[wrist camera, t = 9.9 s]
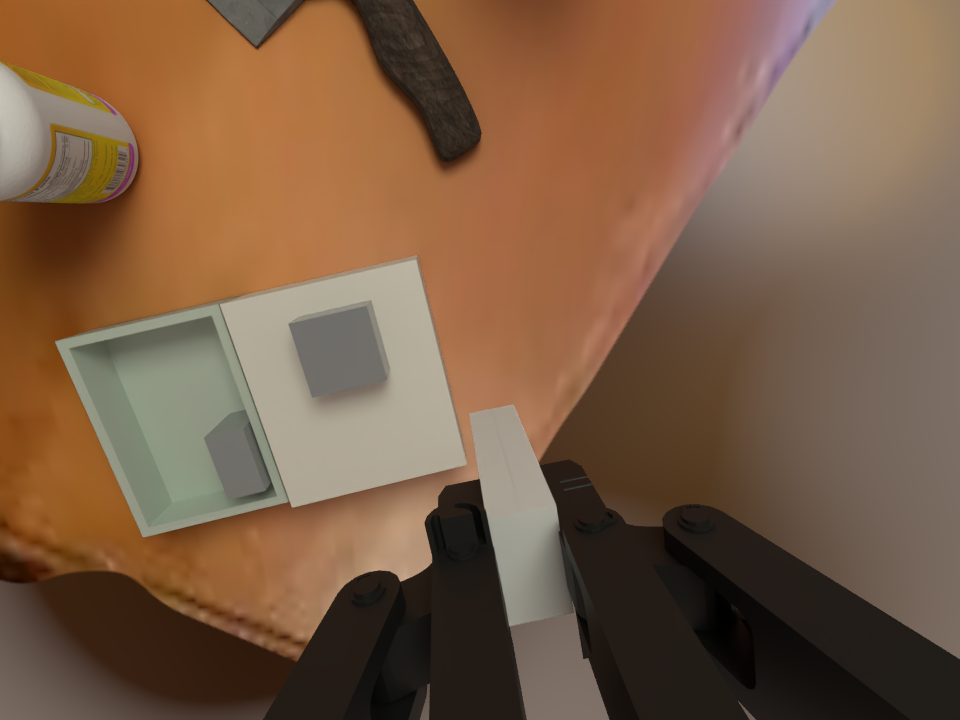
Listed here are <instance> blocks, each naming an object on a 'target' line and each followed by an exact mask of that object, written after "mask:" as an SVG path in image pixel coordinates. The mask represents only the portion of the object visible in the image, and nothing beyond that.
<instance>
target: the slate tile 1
mask: <svg viewBox="0 0 960 720" xmlns="http://www.w3.org/2000/svg"><path fill="white" fill-rule="evenodd" d="M204 440H205V443H206V445H207V448H208V450H209V453H210V455H211V458H212V461H213V463H214V466H215V468H216V471H217V473H218V476H219V478H220V481H221V484H222V486H223V489H224V491H225V494H226V496H227V499H228V500H230V499H234V498H238V497H242V496H246V495H251V494H255V493H259V492H263V491H266V489H267V488H268V486H269V485H270V483H271V478H270V475H269V473H268V470H267V467H266V464H265V462H264V459H263V456H262V453H261V450H260V448H259V445H258V442H257V439H256V437H255V434H254V431H253V428H252V426H251V423H250V420H249V417H248V415H247V412H246V410H242V411H237V412H233V413H230V414H229V415H227V416H226V417H225V418H224V419H223V420H222V421H221V422H220V423H219V424H218V425H217V426H216V427H215V428H214V429H213V430H212V431H211V432H210V433H208V434H207V435H206V436H205V437H204Z"/></svg>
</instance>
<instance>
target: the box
mask: <svg viewBox="0 0 960 720" xmlns="http://www.w3.org/2000/svg"><path fill="white" fill-rule="evenodd" d="M238 297H241V296H237V297H232V298H228V299H224V300H219V301H215V302H210V303H206V304H202V305H197V306H193V307H189V308H184V309H180V310H175V311H171V312H167V313H162V314H158V315H154V316H149V317H145V318H141V319H136V320H132V321H127V322H123V323H119V324H114V325H110V326H106V327H101V328H97V329H93V330H90V331H87V332H84V333H80V334H77V335H74V336H71V337H67V338H64V339H61V340H58V341H55V343H56V345H57V347H58V350H59V352H60V354H61V356H62V358H63V361H64V363H65V365H66V367H67V370H68V372H69V374H70V376H71V378H72V381H73V383H74V385H75V387H76V390H77V392H78V394H79V396H80V398H81V401H82V403H83V405H84V407H85V410H86V412H87V414H88V416H89V418H90V421H91V423H92V425H93V427H94V430H95V432H96V434H97V436H98V438H99V441H100V443H101V445H102V447H103V450H104V452H105V454H106V456H107V458H108V461H109V463H110V465H111V467H112V470H113V472H114V474H115V476H116V478H117V481H118V483H119V485H120V487H121V489H122V492H123V494H124V496H125V498H126V501H127V503H128V505H129V507H130V509H131V512H132V514H133V516H134V518H135V521H136V523H137V525H138V527H139V529H140V532H141V534H142V536H143V537H147V536H152V535H156V534H160V533H164V532H168V531H172V530H176V529H180V528H184V527H188V526H192V525H196V524H201V523H205V522H209V521H213V520H217V519H221V518H225V517H229V516H233V515H237V514H241V513H245V512H250V511H254V510H258V509H262V508H266V507H270V506H274V505H278V504H282V503H286V502H289V498H288V495H287V492H286V489H285V486H284V484H283V481H282V478H281V475H280V472H279V470H278V467H277V464H276V461H275V458H274V456H273V453H272V450H271V447H270V444H269V442H268V439H267V436H266V433H265V430H264V427H263V425H262V422H261V419H260V416H259V413H258V411H257V408H256V405H255V402H254V399H253V397H252V394H251V391H250V388H249V385H248V382H247V380H246V377H245V374H244V371H243V368H242V366H241V363H240V360H239V357H238V354H237V352H236V349H235V346H234V343H233V340H232V338H231V335H230V332H229V329H228V326H227V323H226V321H225V318H224V315H223V312H222V309H221V307H220V304H222V303H225V302H228V301H230V300H233V299H236V298H238ZM242 410H246V412H247V415H248V417H249V420H250V423H251V426H252V428H253V431H254V434H255V437H256V439H257V442H258V445H259V448H260V450H261V453H262V456H263V459H264V462H265V464H266V467H267V470H268V473H269V475H270V478H271V483H270V485H269V486H268V488H267V489H266V491H263V492H259V493H255V494H251V495H246V496H242V497H238V498H234V499H230V500H228V499H227V496H226V494H225V491H224V489H223V486H222V484H221V481H220V478H219V476H218V473H217V471H216V468H215V466H214V463H213V461H212V458H211V455H210V453H209V450H208V448H207V445H206V443H205V440H204V437H205V436H206V435H207V434H208V433H210V432H211V431H212V430H213V429H214V428H215V427H216V426H217V425H218V424H219V423H220V422H221V421H222V420H223V419H224V418H225V417H226V416H227V415H229V414H230V413H233V412H237V411H242Z"/></svg>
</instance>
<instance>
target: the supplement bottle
mask: <svg viewBox="0 0 960 720" xmlns="http://www.w3.org/2000/svg"><path fill="white" fill-rule="evenodd" d="M138 159H139V157H138V148H137V143H136V140H135V137H134V134H133V132H132V130H131V128H130V127H129V125H128V123H127V122H126V120H125V119H124V118H123V117H122V115H121V114H120V113H119V112H118V111H117V110H116V109H115V108H114V107H112V106H111V105H110V104H109V103H107V102H106V101H104V100H103V99H101V98H99V97H97V96H96V95H93V94H91V93H88V92H86V91H84V90H81V89H78V88H76V87H73V86H70V85H67V84H64V83H62V82H59V81H56V80H53V79H51V78H48V77H45V76H42V75H40V74H37V73H34V72H31V71H29V70H26V69H23V68H20V67H17V66H15V65H12V64H10V63H7V62H4V61H1V60H0V201H16V202H48V203H82V204H88V203H100V202H105V201H108V200H110V199H113V198H115V197H117V196H118V195H120V194H121V193H123V192H124V191H125V190H126V189H127V188H128V187H129V185H130V184H131V183H132V181H133V179H134V177H135V174H136V172H137V168H138Z"/></svg>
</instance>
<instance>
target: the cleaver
mask: <svg viewBox="0 0 960 720" xmlns="http://www.w3.org/2000/svg"><path fill="white" fill-rule="evenodd" d="M207 1H208V2H209V3H211V4H212V5H213V6H214V7H215V8H216V9H217V10H218V11H219V12H220V13H221V14H222V15H223V16H224V17H225V18H226V19H227V20H228V21H229V22H230V23H231V24H232V25H233V26H234V27H235V28H237V29H238V30H239V31H240V32H241V33H242V34H243V35H244V36H245V37H246V38H247V39H248V40H249V41H250V42H252V43H253V44H254V45H255V46H256V47H257V46H258V45H259V44H261V43H262V42H263V41H264V40H265V39H266V38H267V37H268V36H269V35H270V34H272V33H273V32H274V31H275V30H276V29H277V28H278V27H279V26H280V25H281V24H282V23H283V22H284V21H285V20H286V19H287V18H288V17H289V16H290V15H291V14H292V13H293V12H294V10H295V9H296V8H297V7H298V6H299V5H300V4H301V3H302V2H303V1H304V0H207ZM352 2H353V3H354V4H355V5H356V7H357V8H358V10H359V12H360V14H361V16H362V18H363V20H364V22H365V25H366V28H367V31H368V34H369V37H370V40H371V43H372V45H373V48H374V51H375V54H376V56H377V58H378V60H379V62H380V64H381V66H382V68H383V69H384V70H385V72H386V73H387V74H388V76H389V77H390V78H391V80H392V81H393V82H394V83H395V84H396V85H397V86H398V87H399V88H400V89H401V90H402V91H403V92H404V93H405V94H406V95H407V96H408V97H409V98H410V99H411V100H412V101H413V102H414V104H415V105H416V107H417V108H418V110H419V111H420V113H421V114H422V116H423V118H424V120H425V123H426V125H427V127H428V130H429V132H430V135H431V137H432V140H433V143H434V146H435V149H436V151H437V153H438V155H439V157H440V159H441V160H442V161H444V162H450V161H452V160H455V159H457V158H458V157H460V156H461V155H463V154H464V153H466V152H467V151H469V150H470V149H471V148H473V147H474V146H475V145H476V144H477V143H478V142H479V141H480V138H481V129H480V126H479V122H478V120H477V117H476V115H475V113H474V110H473V108H472V106H471V104H470V102H469V100H468V97H467V95H466V93H465V91H464V89H463V87H462V85H461V83H460V81H459V79H458V78H457V76H456V74H455V72H454V70H453V68H452V66H451V65H450V63H449V61H448V59H447V57H446V56H445V54H444V52H443V50H442V49H441V47H440V45H439V43H438V42H437V40H436V38H435V36H434V35H433V33H432V31H431V29H430V28H429V26H428V24H427V23H426V21H425V19H424V18H423V16H422V14H421V13H420V11H419V9H418V8H417V6H416V4H415V3H414V1H413V0H352Z"/></svg>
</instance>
